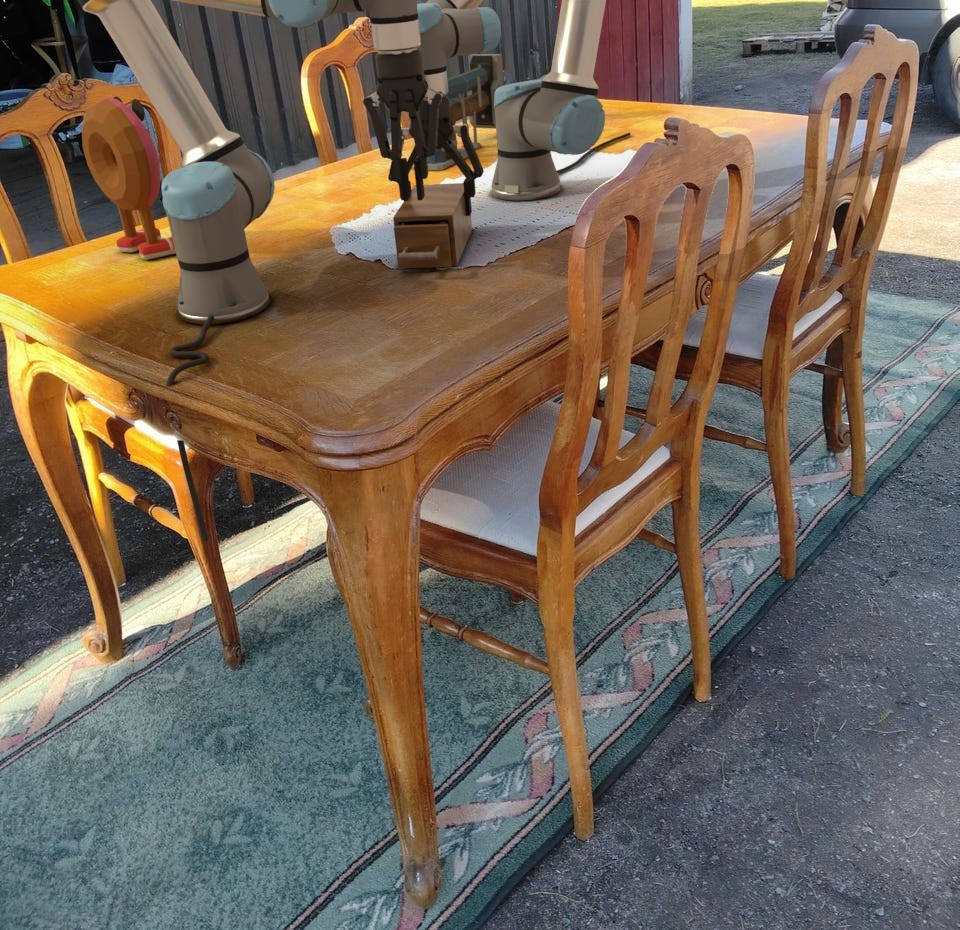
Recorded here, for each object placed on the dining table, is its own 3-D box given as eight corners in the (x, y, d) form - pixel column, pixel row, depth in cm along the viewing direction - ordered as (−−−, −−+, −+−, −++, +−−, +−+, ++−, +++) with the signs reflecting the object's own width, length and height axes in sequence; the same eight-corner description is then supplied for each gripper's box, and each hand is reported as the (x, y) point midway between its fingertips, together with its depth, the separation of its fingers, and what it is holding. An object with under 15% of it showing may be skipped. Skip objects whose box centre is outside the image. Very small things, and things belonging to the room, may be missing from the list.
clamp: (441, 170, 238) (433, 78, 227) (411, 168, 242) (401, 78, 231) (506, 137, 263) (501, 53, 253) (478, 136, 267) (472, 53, 257)
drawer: (446, 276, 169) (442, 234, 165) (393, 278, 171) (387, 236, 167) (466, 232, 191) (462, 193, 187) (418, 233, 192) (414, 195, 188)
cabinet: (457, 266, 176) (452, 215, 172) (399, 267, 178) (393, 217, 173) (472, 229, 195) (468, 182, 190) (419, 231, 196) (414, 185, 191)
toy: (201, 251, 195) (166, 95, 180) (157, 266, 189) (116, 105, 173) (147, 235, 208) (109, 88, 193) (104, 248, 202) (61, 97, 187)
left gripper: (447, 44, 156) (459, 190, 168) (358, 49, 158) (376, 194, 170) (440, 51, 149) (453, 202, 161) (347, 56, 151) (367, 206, 163)
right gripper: (493, 89, 179) (500, 207, 190) (371, 96, 183) (385, 211, 194) (488, 97, 173) (496, 218, 184) (362, 104, 176) (377, 222, 187)
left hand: (414, 198), depth 165 cm, fingers closed
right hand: (439, 215), depth 189 cm, fingers closed on cabinet, 11 cm apart
